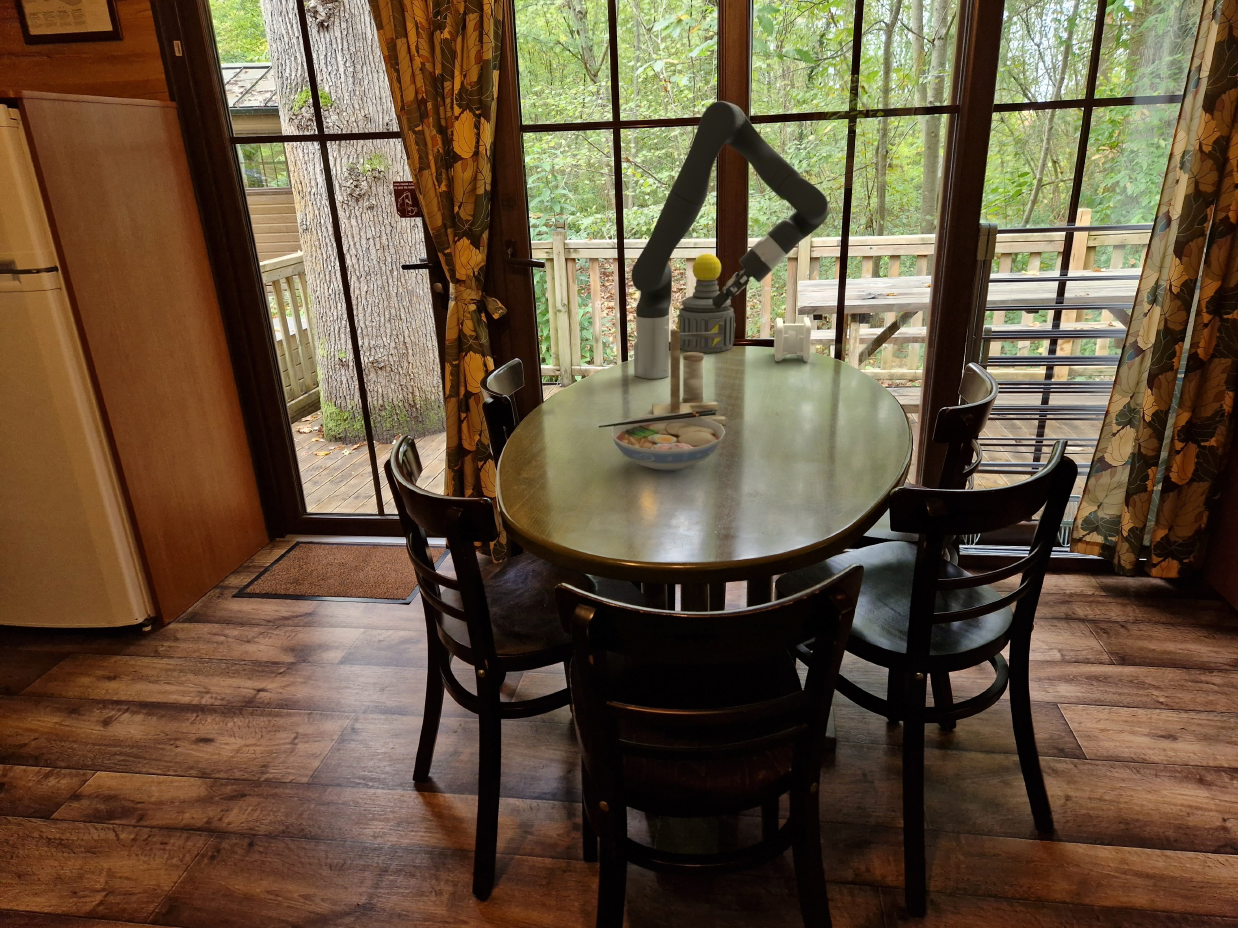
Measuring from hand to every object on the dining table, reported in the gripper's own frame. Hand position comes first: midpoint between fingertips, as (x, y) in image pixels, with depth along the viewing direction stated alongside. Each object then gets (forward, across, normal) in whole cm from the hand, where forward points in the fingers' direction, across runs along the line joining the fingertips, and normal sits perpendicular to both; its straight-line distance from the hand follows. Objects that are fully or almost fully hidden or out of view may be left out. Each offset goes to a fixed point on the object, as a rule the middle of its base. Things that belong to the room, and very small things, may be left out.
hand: (714, 305), depth 198 cm
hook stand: (+22, +19, +13) cm, 32 cm away
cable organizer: (-4, -42, +31) cm, 52 cm away
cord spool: (+20, +5, +13) cm, 25 cm away
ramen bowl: (+26, +51, +13) cm, 59 cm away
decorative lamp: (+14, -57, +12) cm, 60 cm away
